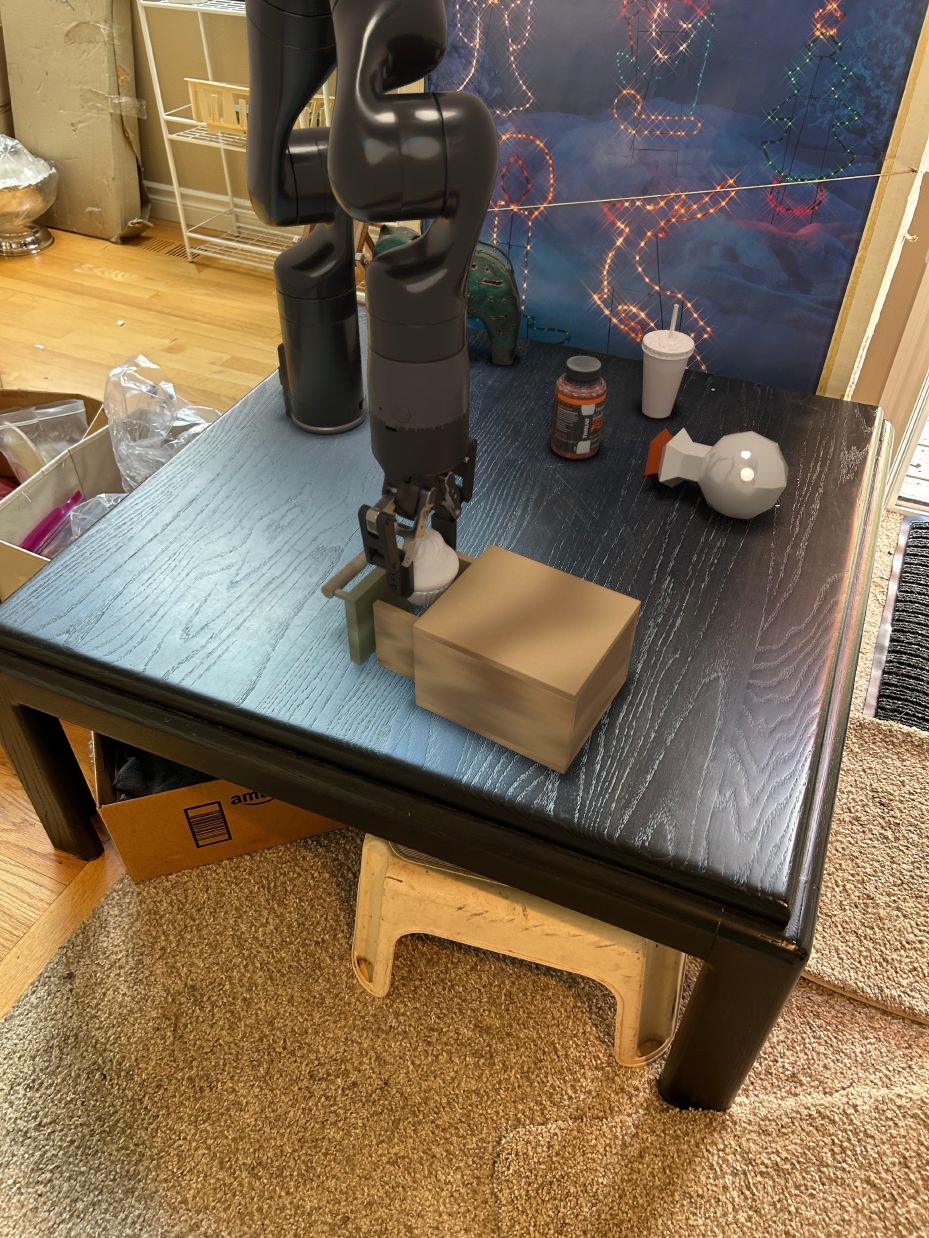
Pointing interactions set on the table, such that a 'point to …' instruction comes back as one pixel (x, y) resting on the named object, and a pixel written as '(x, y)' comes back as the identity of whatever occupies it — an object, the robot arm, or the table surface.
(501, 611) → the cabinet
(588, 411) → the supplement bottle
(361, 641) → the drawer
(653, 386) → the smoothie
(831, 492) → the table surface
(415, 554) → the muffin
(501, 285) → the ceramic cat
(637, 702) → the table surface
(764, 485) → the potion bottle
